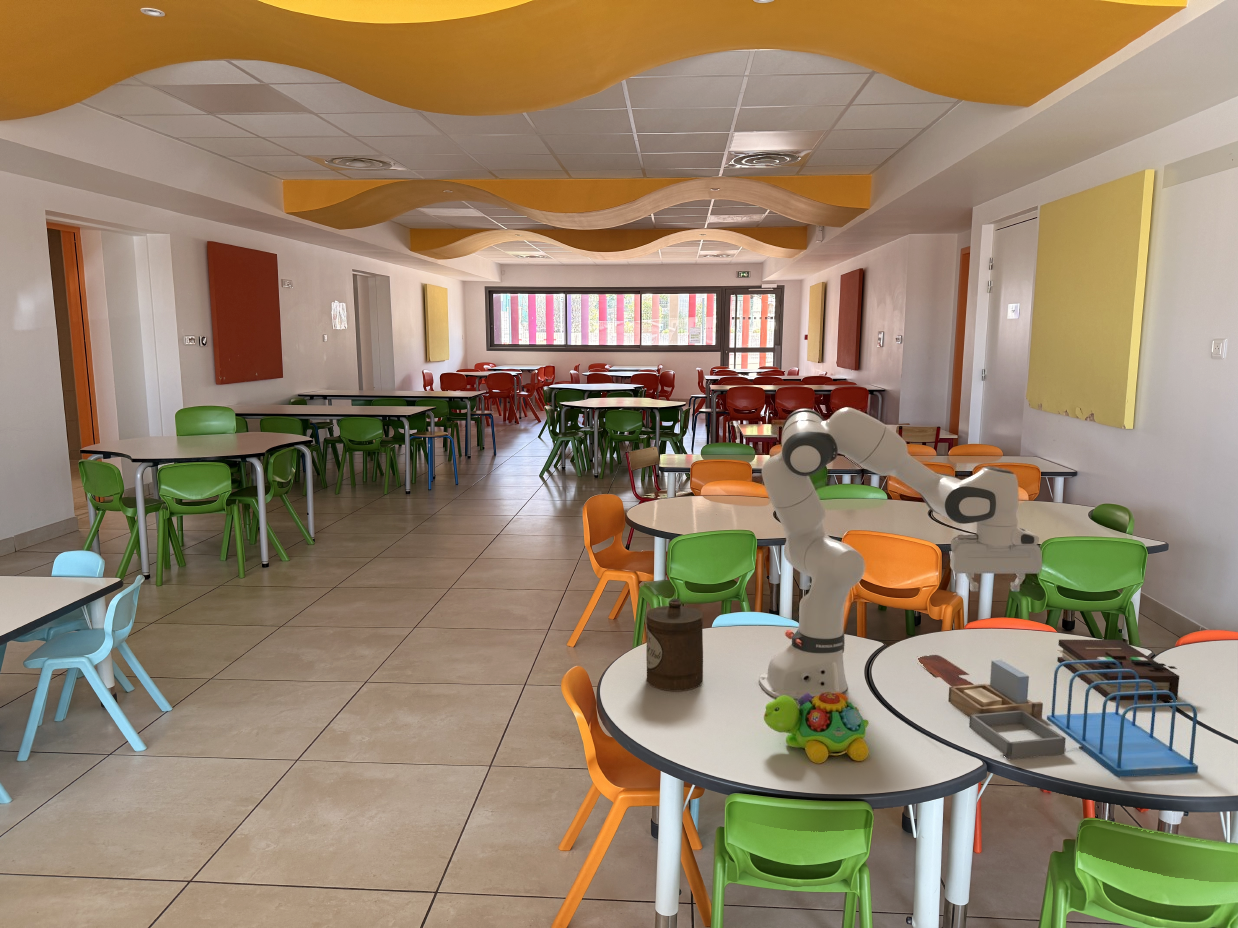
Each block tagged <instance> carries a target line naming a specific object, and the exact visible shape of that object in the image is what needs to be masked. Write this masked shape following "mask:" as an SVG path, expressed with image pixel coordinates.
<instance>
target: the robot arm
mask: <svg viewBox="0 0 1238 928" xmlns="http://www.w3.org/2000/svg"><path fill="white" fill-rule="evenodd" d="M780 446H781V451H780V452H779V453H777V454H775V455H773V456H771V457H770V458H769V459H767V460H766V461H765V462H764V464H763V465H762V467H761V477H762V480H763V485H764V487H765V490H766V493H767V496H768V498H769V501H770V504H771V505H772V507H773V509H774V511H775V513H776V516H777V518H778V520H779V522H780V525H781V526H782V528H783V531H784V535H785V540H786V541H785V543H784V546H783V547H784V548H783V555H784V558H785V560H786V561H787V562H788V563H789V565H791V567H793V568H794V569H795V570H796V571H798V572H799V573H801V574H804V575H806V576H809V577H810V578H811V584H810V588H809V591H808V593H807V594H805V595H804V596H803V597H802V598H801V599H800V602H799V604H798V605H799V612H798V614H799V615H798V628H797V630H796V631H795V632H793V630H791V629H786V631H784V636H785V637H786V638H787V639H789V640H791V643H790V644H789V645H788V646H787V647H785V648H784V649H782V650H781V651H779V652H778V653H777V654H776V655H774V656H773V657H772V658H771V659H770V660H769V663H768V669H767V673H762V674H760V675H759V677H758V684H759V685H760V687H761V688H762V689H763V691H764V692H766V693H767V694H768V695H770V696H772V697H774V698H775V699H777V698H778V697H780V696H783V695H786V696H789V697H791V698H793V699H794V700H796V699H797V700H798V699H799V698H800V697H801V696H803V695H804V694H806V693H809V694H810V695H811V696H812V697H813V696H818V695H820V694H822V693H825V692H830V693H842V694H843V693H844V692H846V690H847V689H848V682H847V678H846V674H845V666H844V665H845V664H844V653H845V641H846V640H845V632H844V618H845V617H844V615H845V605H846V601H847V598H848V595H849V593H850V591H851V589H852V588H853V587H855V586H857V585H858V584H859V582H861V580H862V579H863V577H864V575H865V571H866V561H865V559H864V557H863V555H862V554H861V553H860V552H859V551H858V550H856V549H855V548H853V546H851V545H849V544H848V543H845V542H842V541H839V540H837V539H833V538H831V537H830V536H829V535H828V533H826V531H825V529H824V523H823V522H824V521H825V518H826V510H825V508H824V506H823V504H822V501H821V498H820V496H819V494H818V493H817V491H816V488H815V486H814V484H813V481H812V479H811V476H813V475H815V474H817V473H819V472H820V471H821V470H823V469H824V468H826V466H827V465H828V464H829V465H830V463H832V462H834V461H835V460H836V459H837V457H838V454H840V455H842V456H845V457H847V458H848V459H850V460H851V461H853V462H855V464H857V465H859V466H861V467H862V468H864V469H865V470H868V471H870V472H872V473H875V474H877V475H879V476H883V477H886V476H891V477H894V478H896V479H898V480H899V481H901V482H902V483H904V484H905V485H906V486H908V487H910V488H912V490H914V491H915V492H917V493H918V494H919V495H920V496H921V498H922V499H923V501H924V504H925V505H926V506H927V508H928V509H930V510H931V511H933V512H934V513H936V514H938V515H940V516H943V517H945V518H947V519H948V520H950V521H952V522H954V523H957V524H962V525H963V524H973V523H976V534H975V533H974V534H957V536H956V535H955V536H954V537H953V538H952V539H951V540H950V551H951V556H950V561H949V562H950V563H949V565H950V569H951V570H952V571H953V572H954V573H955V574H964V575H965V577H966V579H967V581H968V583H969V589H970V591H971V592H978V591H979V583H977V582H975V581H974V579H973V578H975V574H1015V575H1016V578H1015V580H1014V582H1013V581H1011V582H1010V590H1011V591H1012V592H1020V590H1021V589H1020V588H1021V587H1020V585H1021V584H1022V583H1023V581H1024V580H1025V579H1026V574H1039V573H1041V572H1040V571H1042V569H1043V557H1042V555H1043V554H1042V550H1041V548H1040V546H1039V545H1038V544H1039V543H1040V538H1039V536H1038V535H1037V534H1036V533H1034V532H1032V531H1030V530H1027V529H1026V528H1022V527H1019V525H1018V524H1019V522H1018V519H1017V510H1018V508H1019V497H1020V496H1019V495H1020V493H1019V482H1018V478H1017V475H1016V474H1015V473H1014V472H1013V471H1011V470H1008V469H1005V468H1002V467H997V466H982V467H981V469H980V470H979V471H978V472H976V473H975V474H973V475H970V476H969V477H967V478H964V479H960V478H958V477H957V476H954V475H951V474H947V473H940V472H936V471H933V470H932V469H931V468H929V467H927V466H926V465H924V464H923V463H922V462H920V461H918V460H917V459H915V458H914V457H913V456H911V455H910V453H909V452H908V445H907V442H906V441H905V440H904V438H902V436H901V435H900V434H898V433H897V432H896V431H894V430H893V429H892V428H890V427H889V426H888V425H886V424H885V423H883V422H882V421H880V420H878V419H876V418H875V417H873V416H871V415H869V414H867V413H865V412H863V411H860V410H858V409H855V408H854V407H853V408H852V407H843V408H840V409H838V410H836V411H835V412H834V413H833V414H832V415H831V416H830V417H829V418H828V419H827V420H825V419H824V417H823V416H822V415H821V414H820V413H818V412H817V411H816V410H813V409H811V408H800V409H797V410H794V411H793V412H792V413H790V414H789V415H788V416H787V418H786V419H785V421H784V423H783V425H782V430H781V440H780Z"/></svg>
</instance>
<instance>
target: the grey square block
mask: <svg viewBox="0 0 1238 928" xmlns="http://www.w3.org/2000/svg"><path fill="white" fill-rule="evenodd" d="M990 661H991V665H990V680H989V683H990V687H991V688H993V689H994V690H996V691H997V692H999V693H1000V694H1002V695H1004V696H1005V697H1007V698H1008V699H1010V700H1011V701H1013V702H1014V703H1016V704H1022V703H1027V699H1028V695H1029V684H1030V683H1029V682H1030V681H1029V680H1030V679H1029V678H1030V676H1029V675H1028V674H1027V673H1025V672H1023V671H1021V670H1019V669H1018V668H1016V667H1014V666H1012V665H1011V664H1009V663H1007V662H1006V661H1005V660H1002V659H995V660H990Z"/></svg>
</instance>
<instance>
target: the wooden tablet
mask: <svg viewBox="0 0 1238 928" xmlns="http://www.w3.org/2000/svg"><path fill="white" fill-rule="evenodd" d="M921 656H922V655H921ZM918 660H919V662H920V663H921V664H923V666H924V667H925V668H926V669H927V670H926V669H925V668H924V669H925V670H926V671H928V672H929V673H930V674H931V675H933V676H934V677H935V678H940V679H942V681H944V682H945V683H946V684H947V685H949V687H954V686H966V685H975V684H974V683H973V682H971V681H970V680H968V679H966V678H963V677H962V676H970V674H969V673H968V672H966V671H965V670H963V669H962V668H960V667H959V666H957V665H955V664H954V663H952V662H951V661H950V660H948V659H946V658H944V657H943V656H941V655H938V654H930V655H929V656H927V655H923V656H922V657H920V658H918Z"/></svg>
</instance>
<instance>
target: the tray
mask: <svg viewBox="0 0 1238 928" xmlns="http://www.w3.org/2000/svg"><path fill="white" fill-rule="evenodd" d="M1018 724H1019V725H1020V724H1021V725H1023V726H1024V727H1025V728H1027V729H1029V730H1030V731H1032V732H1033V733H1034V734H1036V735H1037V736H1039V737H1041V738H1036V739H1027V740H1026V739H1025V740H1015V741H1010V740H1009V739H1007V738H1005V737H1004V736H1003V735H1001V734H1000V733H999V732H998V731H996V730H994V729H993V728H992V727H995V726H996V727H997V726H1008V725H1009V726H1010V725H1018ZM968 726H969V728H970V729H972V731H974V732H976V733H977V734H978V735H979V736H981V737H982V738H983V739H985V740H986V741H987V742H989V743H990V744H991V745H993V747H996V748H997V750H999V751H1000V752H1002V753H1003V754H1002V756H1003V757H1004V756H1005V757H1006V759H1007V760H1008V759H1011V760H1018V759H1017V758H1021V759H1030V758H1037V757H1047V756H1048V757H1050V756H1057V755H1065V751H1066V740H1067V738H1066V737H1065V736H1063V735H1062V734H1060V733H1058V732H1057V731H1056V730H1054V729H1053V728H1051V727H1050V726H1048V725H1046V724H1045V723H1044V722H1042V721H1040V720H1039V719H1036V718H1034V717H1032V716H1031V715H1029V714H1028V713H1026V712H1025V711H1023V710H1018V711H1007V712H997V713H986V714H975V715H970V717H969V723H968ZM1005 757H1004V758H1005Z"/></svg>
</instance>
